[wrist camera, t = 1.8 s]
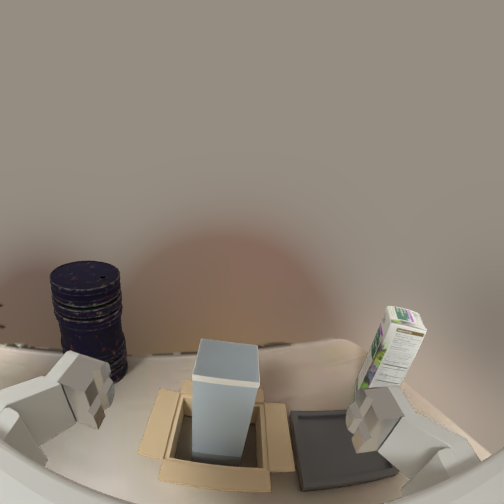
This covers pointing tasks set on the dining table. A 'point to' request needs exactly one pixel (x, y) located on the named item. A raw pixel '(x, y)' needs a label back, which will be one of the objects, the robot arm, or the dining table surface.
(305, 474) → the tray
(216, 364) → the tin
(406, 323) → the syrup box
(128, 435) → the dining table surface
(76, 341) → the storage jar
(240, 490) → the carton
